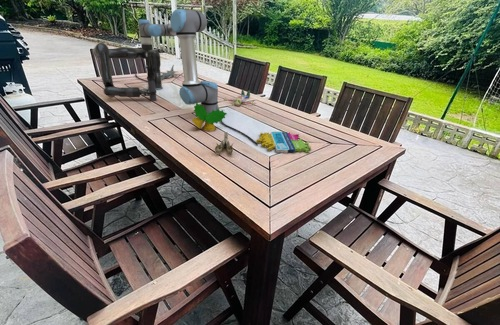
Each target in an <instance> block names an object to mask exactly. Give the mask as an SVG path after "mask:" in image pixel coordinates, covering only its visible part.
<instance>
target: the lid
mask: <svg viewBox="0 0 500 325" xmlns="http://www.w3.org/2000/svg"><path fill="white" fill-rule="evenodd" d="M148 80H149V81H153V80H155V77H154V76H152V78H148V75H146V81H148Z"/></svg>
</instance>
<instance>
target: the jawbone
mask: <svg viewBox="0 0 500 325" xmlns="http://www.w3.org/2000/svg"><path fill="white" fill-rule="evenodd" d="M223 135H224V136H223V140H222V139H221V142H220V144H218V142H215V144H216V146H215V148H214V149H215V152H214V154H215V155H217V156H218V155H220V153H221V152H223V151H224V150H226V152H227V153H228V155H229V156H233V155H234V154H233V153H234V148H233V144H234V143H230V140H228V139H229V138H228V137H229V136H228V135H229V133H228V131H226V132H224V134H223Z"/></svg>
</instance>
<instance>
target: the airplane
mask: <svg viewBox="0 0 500 325" xmlns="http://www.w3.org/2000/svg"><path fill="white" fill-rule="evenodd" d="M174 66H175V65H174V64H172V66H171V68H170V70H166V72H163V71H162V72H161V71H160V73H161V81H163V80H165V79H171V78H173V77H174V78H176V77H177V76H184V73H177V71H175V70H174Z"/></svg>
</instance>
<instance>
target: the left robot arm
mask: <svg viewBox="0 0 500 325" xmlns="http://www.w3.org/2000/svg"><path fill="white" fill-rule="evenodd" d="M150 52H151V61H152V65H153V66H152V72H153V75H152V76H154V77H155V80H154V81H155V90H161V89H163V82H162V80H161V75H162V73H160V72H161V64H162V63H161V62H162V61H161V53H160V52H159V51H158V50H157V49H153V50H150ZM92 53H93V56H95V57H96V58H97V59H99V61H100V77H101V82H102V85H103V86H104V88H103V90H102V91H103V94H104V95H105V96H107V97H108V98H110V99H113V98H115V97H120V98H141V97H150V95H156V96H157V91H156V92H149V88H142V89H140V87H138V86H131V87H130V86H128V87H117V86H115V85H114V81H113V80H114V79H113V75H112V71H111V62H110V59H115V60H117V59H118V60H129V61H130V60H139V59H144V60H145V50H142V48H136V47H129V46H122V47H121V46H120V47H115V48H109V46H108V45H107V44H105V43H104V42H98V43H97V44H96V45H95V46H94V48H93V50H92ZM132 74H135V77H136V78H137V79H139V80H141V81H144V82H146V83H148V80H147V79H143V78H142V77H141V78H140V77H138V76H137V72H136V71H132Z"/></svg>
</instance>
